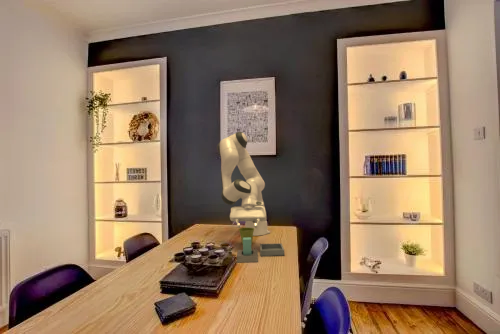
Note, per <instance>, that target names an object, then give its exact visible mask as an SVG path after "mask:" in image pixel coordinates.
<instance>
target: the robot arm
mask: <svg viewBox="0 0 500 334" xmlns="http://www.w3.org/2000/svg"><path fill="white" fill-rule="evenodd" d="M247 145H248V138H247V135H246V134H245V133H244V132H243V131H237V132H235V133H232V134H231V135H229V136H228V137H225V138H224V137H223V139H221V140H220V141H219V143H217V145H216V150H217V152H218V154H219V155H220V160H221V164H220V165H221V167H220V179H221V180H220V181H221V193H220V196H221V199H222V201H223V203H225V204H226V205H229V206H232V207H230V213H229V219H230V221H231V222H235V223H236V228H239V229H240V228H241V223H239V222H245V223H244V225H245V227H244V228H254V232H253V237H255V236H258V237H259V236H264V235H267V234H271V231H270V230H269V229H268V221H267V217H268V216H267V211H266V207H265V202H264V200H263V194H262V191H263V190H264V189H265V187H266V183H265V181H264V179H263V176H261V174H260V173H259V171H258V169H257V167H256V166H255V164H254V160H252V157H251V156H250V153H249V150H247V149H246V148H247ZM236 167H238V170H239V172H240V174H241V175H242V176H243V178H244V179H245V180H243V179H240V178H238V179H237V178H236V179H235V180H234V181H233V182H232V174H233V172H234V170H235V168H236ZM240 199H241V205H237V206H236V205H234V204H236V203H237V201H238V200H240ZM233 205H234V206H233Z"/></svg>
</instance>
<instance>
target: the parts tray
mask: <svg viewBox="0 0 500 334" xmlns="http://www.w3.org/2000/svg"><path fill="white" fill-rule="evenodd" d="M259 252H260V253H259V254H260V255H259V256H260V257H285V249H284V246H283V243H279V242H277V243H259Z"/></svg>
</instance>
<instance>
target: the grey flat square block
mask: <svg viewBox="0 0 500 334" xmlns="http://www.w3.org/2000/svg"><path fill="white" fill-rule="evenodd" d="M251 250H252V254H248V255H243V249H237V252H236V253H237V254H236V264H240V263H241V264H242V263H259V256H258V255H259V253H258V249H254V248H253V249H251Z"/></svg>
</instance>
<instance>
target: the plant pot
mask: <svg viewBox="0 0 500 334" xmlns="http://www.w3.org/2000/svg"><path fill="white" fill-rule="evenodd" d="M238 232H239V234H240V240H241V244H242V245H243V238H246V237H251V245H252V244H253V237H254V236H253V232H254V228H245V227H242V228H241V227H240V228H239V229H238Z"/></svg>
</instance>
